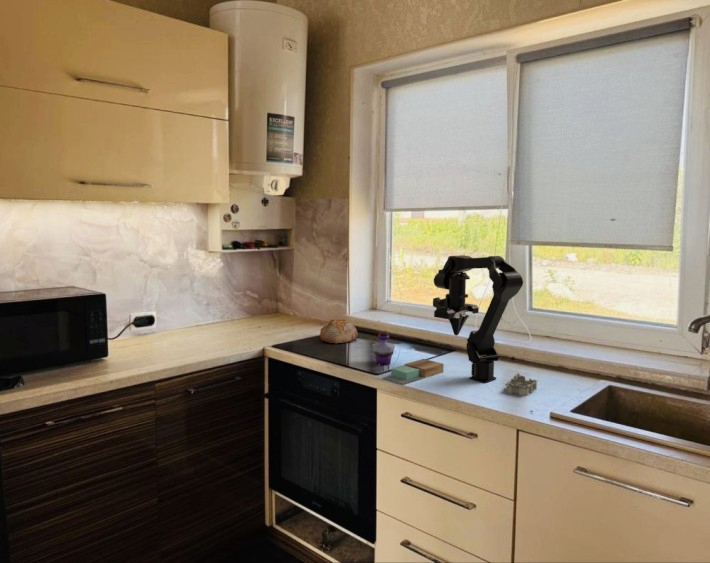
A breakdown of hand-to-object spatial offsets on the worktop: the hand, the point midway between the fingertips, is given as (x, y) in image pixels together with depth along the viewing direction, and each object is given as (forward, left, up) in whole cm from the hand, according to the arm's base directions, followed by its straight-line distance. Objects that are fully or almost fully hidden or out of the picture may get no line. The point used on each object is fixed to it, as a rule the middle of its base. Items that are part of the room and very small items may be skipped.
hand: (456, 335), depth 193 cm
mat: (+4, +23, -12) cm, 26 cm away
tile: (+5, +21, -10) cm, 24 cm away
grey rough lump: (-29, +5, -12) cm, 32 cm away
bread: (+62, 0, -12) cm, 63 cm away
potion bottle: (+22, +14, -12) cm, 29 cm away
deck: (+4, +12, -12) cm, 18 cm away
